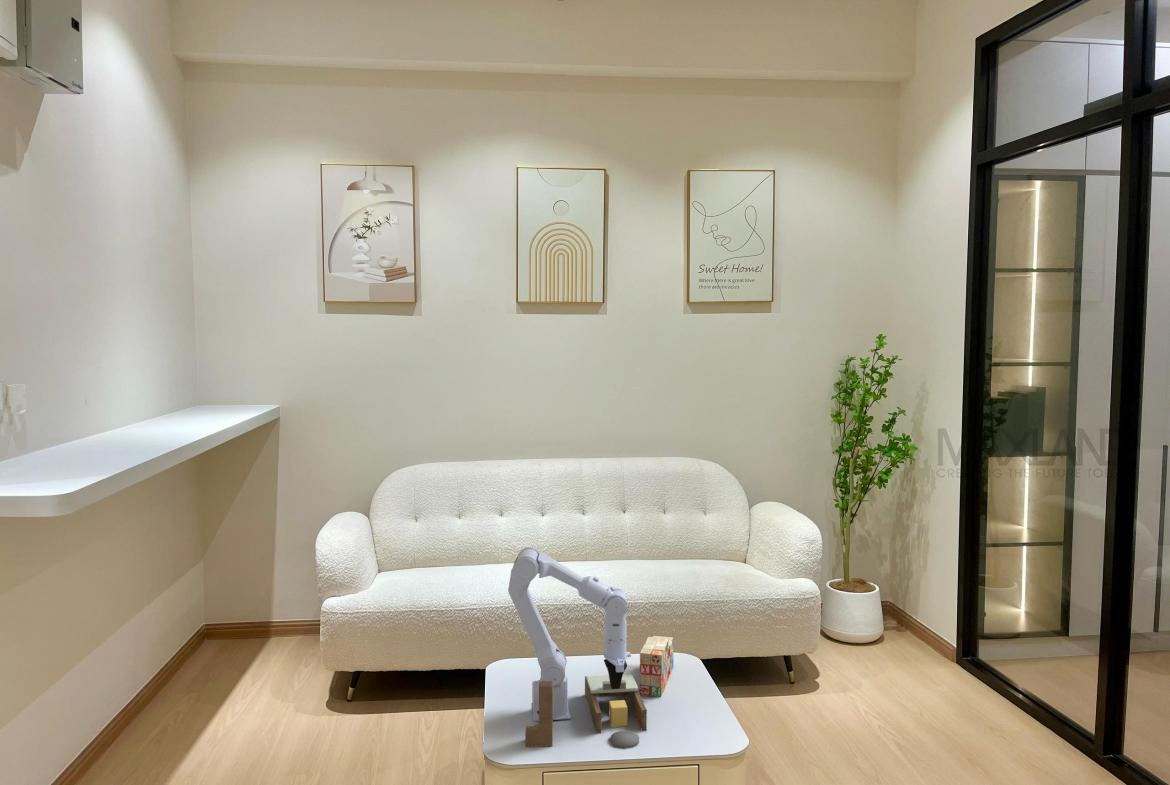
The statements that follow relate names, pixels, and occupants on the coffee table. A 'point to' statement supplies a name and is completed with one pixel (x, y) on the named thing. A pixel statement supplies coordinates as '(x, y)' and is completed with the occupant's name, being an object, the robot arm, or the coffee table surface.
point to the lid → (603, 685)
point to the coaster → (624, 739)
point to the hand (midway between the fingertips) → (615, 687)
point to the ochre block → (618, 713)
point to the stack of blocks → (655, 665)
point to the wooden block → (542, 718)
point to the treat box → (632, 695)
